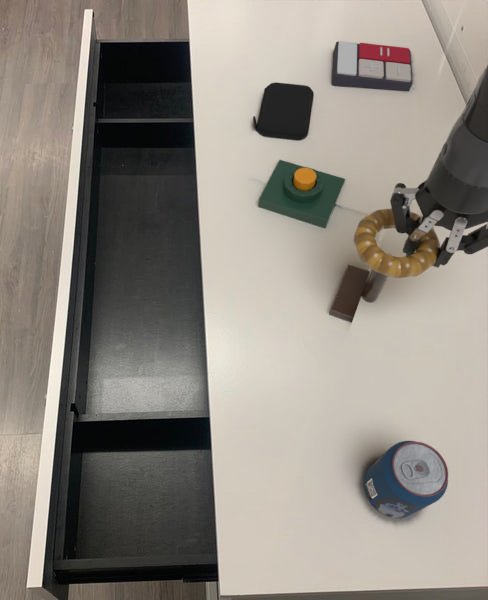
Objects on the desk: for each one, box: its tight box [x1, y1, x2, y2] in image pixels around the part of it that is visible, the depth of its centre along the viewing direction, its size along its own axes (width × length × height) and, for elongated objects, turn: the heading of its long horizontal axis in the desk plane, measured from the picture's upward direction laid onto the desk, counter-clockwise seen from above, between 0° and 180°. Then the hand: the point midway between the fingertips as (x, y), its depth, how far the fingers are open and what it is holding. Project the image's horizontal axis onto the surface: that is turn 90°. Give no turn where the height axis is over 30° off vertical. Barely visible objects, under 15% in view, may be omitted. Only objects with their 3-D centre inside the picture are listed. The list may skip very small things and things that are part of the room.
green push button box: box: [257, 159, 346, 229], centre depth 90 cm, size 12×10×4 cm
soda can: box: [363, 440, 449, 519], centre depth 62 cm, size 7×7×12 cm
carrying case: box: [252, 82, 315, 141], centre depth 101 cm, size 11×3×15 cm
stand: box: [328, 264, 390, 324], centre depth 77 cm, size 9×9×10 cm
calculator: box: [330, 40, 413, 93], centre depth 106 cm, size 11×4×15 cm
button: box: [293, 167, 316, 191], centre depth 88 cm, size 4×4×2 cm
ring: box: [353, 207, 441, 279], centre depth 68 cm, size 10×10×3 cm
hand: (422, 256), depth 68 cm, fingers closed on ring, 3 cm apart
